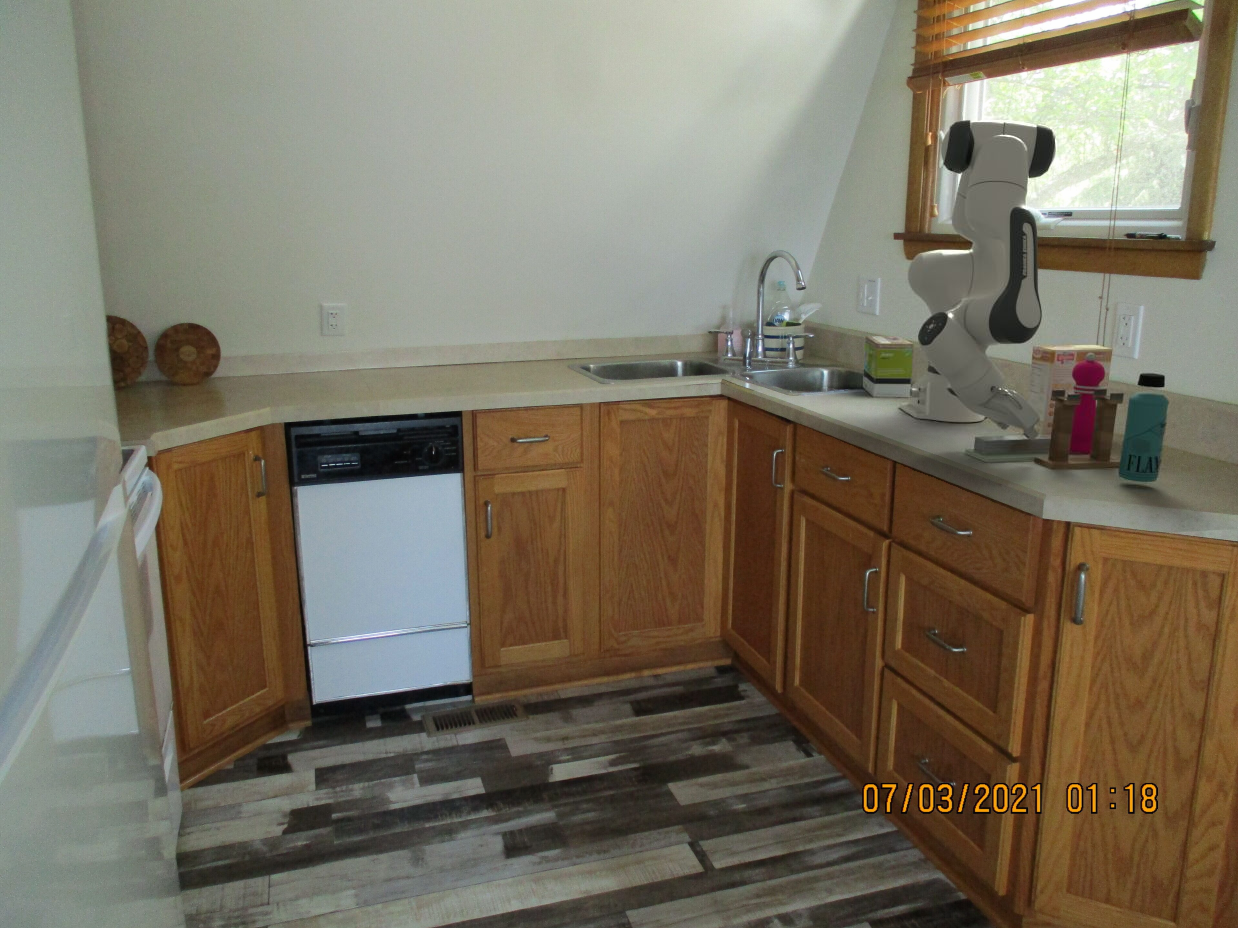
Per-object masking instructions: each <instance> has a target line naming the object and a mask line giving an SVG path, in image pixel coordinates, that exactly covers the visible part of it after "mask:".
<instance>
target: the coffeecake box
mask: <svg viewBox="0 0 1238 928" xmlns="http://www.w3.org/2000/svg"><path fill="white" fill-rule="evenodd" d="M1113 350H1114V349H1113V348H1111V347H1105V346H1102V345H1098V344H1081V345H1079V344H1078V345H1077V344H1075V345H1074V344H1072V345H1068V344H1067V345H1034V346H1032V353H1031V354H1032V355H1031V364H1030V372H1029V373H1030V374H1029V382H1028V383H1029V385H1028V393H1027V398H1026V399H1027V400H1026V401H1027V402H1028V403H1029V404H1030V405H1031V406H1032V407H1033V409H1034V410H1035V411H1036V412H1037V413H1038V414H1039V417H1040V420H1039V421H1038V422H1037V423H1036V424H1035V425H1034V429H1035V430H1036V431H1037V433H1038V435H1050V436H1051V432H1052V424H1053V416H1054V408H1055V401H1052V400H1051V395H1052V390H1065V396H1066V397H1067V396H1068V394H1075V391H1073V389H1074V386H1073V385H1074V384H1076V383H1075V380H1074V379H1073V377H1072V371H1073V368H1074V366H1075V365H1076V364H1078V363H1079V362H1081V361H1087V360H1086V355H1087V354H1088V353H1093V354H1095V360H1094V361H1096V362H1098V363H1100V364H1101V365H1102V366H1103V367H1104V369H1105V377H1104V379H1103V381H1102V382H1100V384H1099V386H1101V388H1099V389H1107V390H1108V387H1109V379H1110V371H1111V363H1112V356H1113ZM1106 395H1108V393H1107V394H1106ZM1096 406H1097V400H1096Z"/></svg>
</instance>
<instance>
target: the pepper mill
mask: <svg viewBox="0 0 1238 928" xmlns="http://www.w3.org/2000/svg"><path fill="white" fill-rule="evenodd" d="M1086 360H1087V361H1081V362H1079V363H1078V364H1076V365H1075V366H1074V368H1073V371H1072V377H1073V379H1074V380H1075V383H1076V384H1074V385H1073V386H1074V389H1073V391H1075V394H1081V401H1080V405H1075V411H1074V419H1073V426H1072V434H1071V442H1070V450H1069V453H1075V454H1086V455H1089V454H1090V452H1091V444H1092V437H1093V429H1094V421H1095V414H1096V400H1094V399H1093V393H1094V389H1099V388H1101V386H1099V384H1100V382H1102V381H1103V379H1104V377H1105V369H1104V367H1103V366H1102V365H1101V364H1100V363H1098V362H1096V361H1094V360H1095V354H1093V353H1088V354H1087V355H1086Z"/></svg>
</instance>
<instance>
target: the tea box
mask: <svg viewBox="0 0 1238 928" xmlns="http://www.w3.org/2000/svg"><path fill="white" fill-rule="evenodd" d="M864 345H865V346H864V363H863V375H862V376H863V377H862V378H863V379H862V387H863V388H864V389H865V390H866V391H867V392H868V393H869V394H870V395H871V396H872V397H873V398H898V397H900V398H910V394H909V392H910V389H911V388H912V373H913V372H912V371H913V359H914V358H913V357H914V348H915V347H914V343H913V342H910V341H909V340H907V339H905V338H903V337H902V336H890V335H889V336H888V335H885V336H884V335H883V336H880V335H879V336H874V335H873V336H865V342H864Z"/></svg>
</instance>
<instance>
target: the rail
mask: <svg viewBox="0 0 1238 928" xmlns="http://www.w3.org/2000/svg"><path fill="white" fill-rule="evenodd" d="M1050 441H1051V436H1050V435H1038V436H1037V437H1036V438H1035V439H1034V440H1031V439H1028V438H1027V437H1026V436H1025V435H1024V434H1019V435H995V436H994V435H993V436H974V445H973V449H974V452H976V453H978V454H980V455H983V456H988V455H1016V454H1043V453H1049V449H1050Z"/></svg>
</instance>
